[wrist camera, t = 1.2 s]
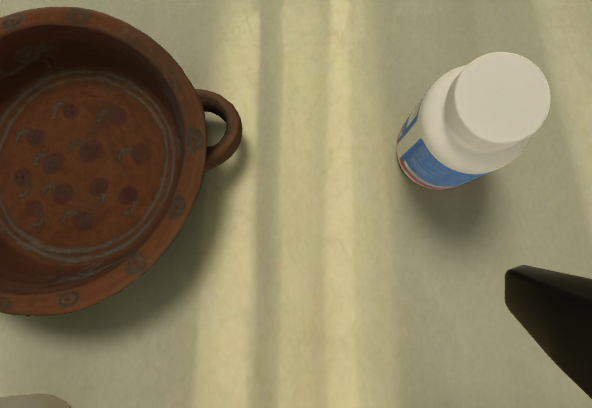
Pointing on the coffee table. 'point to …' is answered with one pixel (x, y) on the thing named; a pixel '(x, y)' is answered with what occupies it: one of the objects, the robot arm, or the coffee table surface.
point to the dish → (94, 156)
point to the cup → (32, 401)
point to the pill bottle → (473, 121)
